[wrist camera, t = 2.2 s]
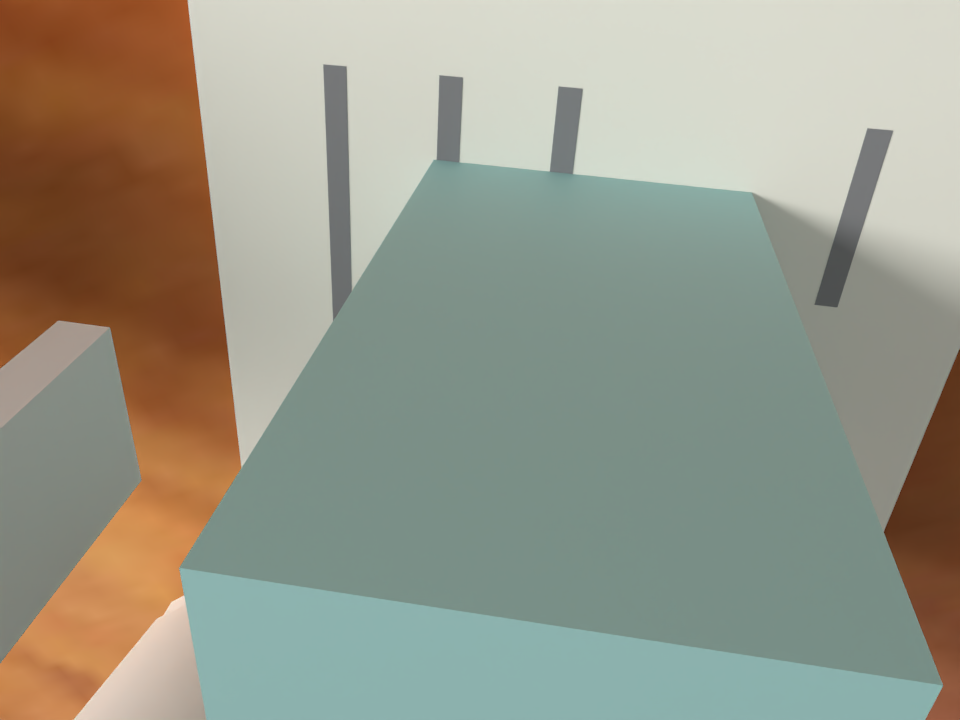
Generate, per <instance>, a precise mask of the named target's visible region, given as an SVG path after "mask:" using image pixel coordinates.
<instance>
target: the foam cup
mask: <svg viewBox="0 0 960 720" xmlns="http://www.w3.org/2000/svg"><path fill="white" fill-rule="evenodd" d="M74 720H206V715H205V709H204V703H203V698H202V692H201V687H200V681H199V675H198V670H197V664H196V659H195V653H194V647H193V642H192V636H191V631H190V625H189V619H188V614H187V608H186V603H185V597H184V596H182V597H180V598H178V599H176V600H174V601H172V602H171V604H170V605H169V607H168V609H167V610H166V612H165V614H164V615H163V616H161V617H159V618H157V619H156V620H155V622H154V623H153V624H152V625H151V626H150V628H149V629H148V630H147V631H146V633H145V634H144V635H143V636H142V637H141V639H140V640H139V641H138V642H137V643H136V645H135V646H134V647H133V648H132V649H131V651H130V652H129V653H128V654H127V656H126V657H125V658H124V659H123V660H122V662H121V663H120V664H119V665H118V666H117V668H116V669H115V670H114V671H113V673H112V674H111V675H110V676H109V677H108V679H107V680H106V681H105V682H104V683H103V685H102V686H101V687H100V688H99V689H98V691H97V692H96V693H95V694H94V696H93V697H92V698H91V699H90V700H89V702H88V703H87V704H86V705H85V706H84V708H83V709H82V710H81V711H80V713H79V714H78V715H77V716H76V717H75V719H74Z"/></svg>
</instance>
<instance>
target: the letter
mask: <svg viewBox="0 0 960 720" xmlns="http://www.w3.org/2000/svg"><path fill="white" fill-rule="evenodd" d="M188 7H189V16H190V25H191V34H192V42H193V51H194V60H195V68H196V77H197V86H198V94H199V103H200V112H201V120H202V129H203V138H204V146H205V155H206V164H207V172H208V181H209V190H210V199H211V207H212V216H213V225H214V233H215V242H216V251H217V259H218V268H219V277H220V285H221V294H222V303H223V311H224V320H225V329H226V337H227V346H228V355H229V364H230V372H231V381H232V390H233V398H234V407H235V416H236V424H237V433H238V442H239V450H240V459H241V468H242V467H243V465H244V463H245V462H246V460H247V459H248V457H249V455H250V454H251V452H252V451H253V449H254V447H255V446H256V444H257V443H258V441H259V439H260V438H261V436H262V435H263V433H264V431H265V430H266V428H267V427H268V425H269V423H270V422H271V420H272V418H273V417H274V415H275V414H276V412H277V410H278V409H279V407H280V406H281V404H282V402H283V401H284V399H285V398H286V396H287V394H288V393H289V391H290V390H291V388H292V386H293V385H294V383H295V382H296V380H297V378H298V377H299V375H300V374H301V372H302V370H303V369H304V367H305V366H306V364H307V362H308V361H309V359H310V358H311V356H312V354H313V353H314V351H315V350H316V348H317V346H318V345H319V343H320V342H321V340H322V338H323V337H324V335H325V333H326V332H327V330H328V329H329V327H330V325H331V324H332V322H333V321H334V319H335V317H336V316H337V314H338V313H339V311H340V309H341V308H342V306H343V305H344V303H345V301H346V300H347V298H348V297H349V295H350V293H351V292H352V290H353V289H354V287H355V285H356V284H357V282H358V281H359V279H360V277H361V276H362V274H363V273H364V271H365V269H366V268H367V266H368V265H369V263H370V261H371V260H372V258H373V256H374V255H375V253H376V252H377V250H378V248H379V247H380V245H381V244H382V242H383V240H384V239H385V237H386V236H387V234H388V232H389V231H390V229H391V228H392V226H393V224H394V223H395V221H396V220H397V218H398V216H399V215H400V213H401V212H402V210H403V208H404V207H405V205H406V204H407V202H408V200H409V199H410V197H411V196H412V194H413V192H414V191H415V189H416V188H417V186H418V184H419V183H420V181H421V180H422V178H423V176H424V175H425V173H426V171H427V170H428V168H429V167H430V165H431V163H432V162H433V160H442V161H452V162H461V163H471V164H481V165H490V166H500V167H510V168H519V169H529V170H539V171H548V172H558V173H568V174H577V175H587V176H597V177H606V178H616V179H626V180H635V181H645V182H655V183H665V184H674V185H684V186H694V187H703V188H713V189H723V190H732V191H742V192H752V195H753V197H754V200H755V202H756V205H757V208H758V210H759V213H760V215H761V218H762V220H763V223H764V226H765V228H766V231H767V233H768V236H769V238H770V241H771V244H772V246H773V249H774V251H775V254H776V256H777V259H778V262H779V264H780V267H781V269H782V272H783V274H784V277H785V280H786V282H787V285H788V287H789V290H790V292H791V295H792V298H793V300H794V303H795V305H796V308H797V311H798V313H799V316H800V318H801V321H802V323H803V326H804V329H805V331H806V334H807V336H808V339H809V341H810V344H811V347H812V349H813V352H814V354H815V357H816V359H817V362H818V365H819V367H820V370H821V372H822V375H823V377H824V380H825V383H826V385H827V388H828V390H829V393H830V395H831V398H832V401H833V403H834V406H835V408H836V411H837V413H838V416H839V419H840V421H841V424H842V426H843V429H844V432H845V434H846V437H847V439H848V442H849V444H850V447H851V450H852V452H853V455H854V457H855V460H856V462H857V465H858V468H859V470H860V473H861V475H862V478H863V480H864V483H865V486H866V488H867V491H868V493H869V496H870V498H871V501H872V504H873V506H874V509H875V511H876V514H877V516H878V519H879V522H880V524H881V527H882V529H883V532H884V530H885V527H886V525H887V523H888V520H889V518H890V515H891V513H892V511H893V508H894V506H895V503H896V501H897V498H898V496H899V494H900V491H901V489H902V486H903V484H904V482H905V479H906V477H907V474H908V472H909V470H910V467H911V465H912V462H913V460H914V457H915V455H916V453H917V450H918V448H919V445H920V443H921V441H922V438H923V436H924V433H925V431H926V428H927V426H928V424H929V421H930V419H931V416H932V414H933V412H934V409H935V407H936V404H937V402H938V399H939V397H940V395H941V392H942V390H943V387H944V385H945V383H946V380H947V378H948V375H949V373H950V370H951V368H952V366H953V363H954V361H955V358H956V356H957V354H958V351H959V349H960V0H188Z"/></svg>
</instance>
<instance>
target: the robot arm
mask: <svg viewBox="0 0 960 720" xmlns="http://www.w3.org/2000/svg"><path fill="white" fill-rule="evenodd" d="M140 482H141V475H140V470H139V465H138V461H137V456H136V451H135V446H134V441H133V436H132V431H131V427H130V422H129V417H128V412H127V407H126V402H125V398H124V393H123V388H122V383H121V378H120V373H119V369H118V364H117V359H116V354H115V349H114V344H113V339H112V335H111V330H110V327H103V326H96V325H88V324H81V323H73V322H65V321H57V322H56V323H55V324H54V325H52V326H51V327H50V328H49V329H48V330H46V331H45V332H44V333H43V334H42V335H40V336H39V337H38V338H37V339H36V340H34V341H33V342H32V343H31V344H29V345H28V346H27V347H26V348H25V349H23V350H22V351H21V352H20V353H19V354H17V355H16V356H15V357H14V358H13V359H11V360H10V361H9V362H8V363H7V364H5V365H4V366H3V367H2V368H1V369H0V663H1V662H2V660H3V659H4V658H5V656H6V655H7V654H8V652H9V651H10V650H11V649H12V647H13V646H14V645H15V643H16V642H17V641H18V640H19V638H20V637H21V636H22V634H23V633H24V632H25V630H26V629H27V628H28V627H29V625H30V624H31V623H32V621H33V620H34V619H35V618H36V616H37V615H38V614H39V612H40V611H41V610H42V608H43V607H44V606H45V605H46V603H47V602H48V601H49V599H50V598H51V597H52V596H53V594H54V593H55V592H56V590H57V589H58V588H59V586H60V585H61V584H62V583H63V581H64V580H65V579H66V577H67V576H68V575H69V574H70V572H71V571H72V570H73V568H74V567H75V566H76V564H77V563H78V562H79V561H80V559H81V558H82V557H83V555H84V554H85V553H86V552H87V550H88V549H89V548H90V546H91V545H92V544H93V542H94V541H95V540H96V539H97V537H98V536H99V535H100V533H101V532H102V531H103V530H104V528H105V527H106V526H107V524H108V523H109V522H110V520H111V519H112V518H113V517H114V515H115V514H116V513H117V511H118V510H119V509H120V508H121V506H122V505H123V504H124V502H125V501H126V500H127V498H128V497H129V496H130V495H131V493H132V492H133V491H134V489H135V488H136V487H137V486H138V484H139V483H140Z"/></svg>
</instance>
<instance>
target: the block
mask: <svg viewBox="0 0 960 720" xmlns="http://www.w3.org/2000/svg"><path fill="white" fill-rule="evenodd" d="M179 569H180V575H181V580H182V586H183V591H184V597H185V603H186V608H187V614H188V619H189V625H190V631H191V636H192V642H193V647H194V653H195V659H196V664H197V670H198V675H199V681H200V687H201V692H202V698H203V703H204V709H205V715H206V720H925V719H926V717H927V715H928V713H929V711H930V709H931V707H932V706H933V704H934V702H935V700H936V698H937V696H938V694H939V692H940V691H941V689H942V687H943V684H942V681H941V679H940V676H939V674H938V671H937V668H936V666H935V663H934V661H933V658H932V655H931V653H930V650H929V648H928V645H927V643H926V640H925V637H924V635H923V632H922V630H921V627H920V625H919V622H918V619H917V617H916V614H915V612H914V609H913V607H912V604H911V601H910V599H909V596H908V594H907V591H906V589H905V586H904V583H903V581H902V578H901V576H900V573H899V571H898V568H897V565H896V563H895V560H894V558H893V555H892V553H891V550H890V547H889V545H888V542H887V540H886V537H885V534H884V532H883V529H882V527H881V524H880V522H879V519H878V516H877V514H876V511H875V509H874V506H873V504H872V501H871V498H870V496H869V493H868V491H867V488H866V486H865V483H864V480H863V478H862V475H861V473H860V470H859V468H858V465H857V462H856V460H855V457H854V455H853V452H852V450H851V447H850V444H849V442H848V439H847V437H846V434H845V432H844V429H843V426H842V424H841V421H840V419H839V416H838V413H837V411H836V408H835V406H834V403H833V401H832V398H831V395H830V393H829V390H828V388H827V385H826V383H825V380H824V377H823V375H822V372H821V370H820V367H819V365H818V362H817V359H816V357H815V354H814V352H813V349H812V347H811V344H810V341H809V339H808V336H807V334H806V331H805V329H804V326H803V323H802V321H801V318H800V316H799V313H798V311H797V308H796V305H795V303H794V300H793V298H792V295H791V292H790V290H789V287H788V285H787V282H786V280H785V277H784V274H783V272H782V269H781V267H780V264H779V262H778V259H777V256H776V254H775V251H774V249H773V246H772V244H771V241H770V238H769V236H768V233H767V231H766V228H765V226H764V223H763V220H762V218H761V215H760V213H759V210H758V208H757V205H756V202H755V200H754V197H753V195H752V192H742V191H732V190H723V189H713V188H703V187H694V186H684V185H674V184H665V183H655V182H645V181H635V180H626V179H616V178H606V177H597V176H587V175H577V174H568V173H558V172H548V171H539V170H529V169H519V168H510V167H500V166H490V165H481V164H471V163H461V162H452V161H442V160H433V162H432V163H431V165H430V167H429V168H428V170H427V171H426V173H425V175H424V176H423V178H422V180H421V181H420V183H419V184H418V186H417V188H416V189H415V191H414V192H413V194H412V196H411V197H410V199H409V200H408V202H407V204H406V205H405V207H404V208H403V210H402V212H401V213H400V215H399V216H398V218H397V220H396V221H395V223H394V224H393V226H392V228H391V229H390V231H389V232H388V234H387V236H386V237H385V239H384V240H383V242H382V244H381V245H380V247H379V248H378V250H377V252H376V253H375V255H374V256H373V258H372V260H371V261H370V263H369V265H368V266H367V268H366V269H365V271H364V273H363V274H362V276H361V277H360V279H359V281H358V282H357V284H356V285H355V287H354V289H353V290H352V292H351V293H350V295H349V297H348V298H347V300H346V301H345V303H344V305H343V306H342V308H341V309H340V311H339V313H338V314H337V316H336V317H335V319H334V321H333V322H332V324H331V325H330V327H329V329H328V330H327V332H326V333H325V335H324V337H323V338H322V340H321V342H320V343H319V345H318V346H317V348H316V350H315V351H314V353H313V354H312V356H311V358H310V359H309V361H308V362H307V364H306V366H305V367H304V369H303V370H302V372H301V374H300V375H299V377H298V378H297V380H296V382H295V383H294V385H293V386H292V388H291V390H290V391H289V393H288V394H287V396H286V398H285V399H284V401H283V402H282V404H281V406H280V407H279V409H278V410H277V412H276V414H275V415H274V417H273V418H272V420H271V422H270V423H269V425H268V427H267V428H266V430H265V431H264V433H263V435H262V436H261V438H260V439H259V441H258V443H257V444H256V446H255V447H254V449H253V451H252V452H251V454H250V455H249V457H248V459H247V460H246V462H245V463H244V465H243V467H242V468H241V470H240V471H239V473H238V475H237V476H236V478H235V479H234V481H233V483H232V484H231V486H230V487H229V489H228V491H227V492H226V494H225V495H224V497H223V499H222V500H221V502H220V503H219V505H218V507H217V508H216V510H215V512H214V513H213V515H212V516H211V518H210V520H209V521H208V523H207V524H206V526H205V528H204V529H203V531H202V532H201V534H200V536H199V537H198V539H197V540H196V542H195V544H194V545H193V547H192V548H191V550H190V552H189V553H188V555H187V556H186V558H185V560H184V561H183V563H182V564H181V566H180V568H179Z"/></svg>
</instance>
